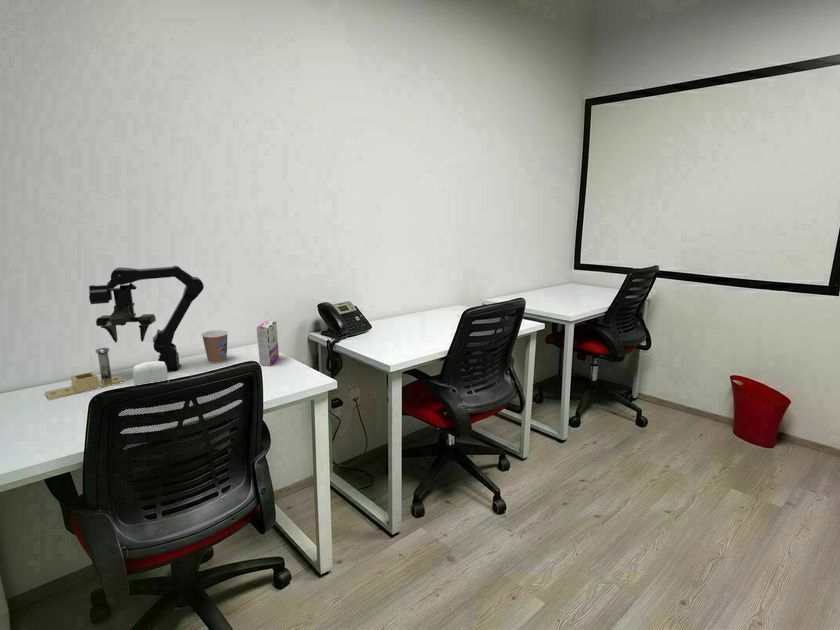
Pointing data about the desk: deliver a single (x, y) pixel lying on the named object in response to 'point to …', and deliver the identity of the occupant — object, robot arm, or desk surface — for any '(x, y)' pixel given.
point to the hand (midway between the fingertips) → (129, 341)
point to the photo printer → (150, 372)
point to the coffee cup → (215, 345)
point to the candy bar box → (267, 342)
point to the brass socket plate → (83, 384)
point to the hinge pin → (104, 362)
